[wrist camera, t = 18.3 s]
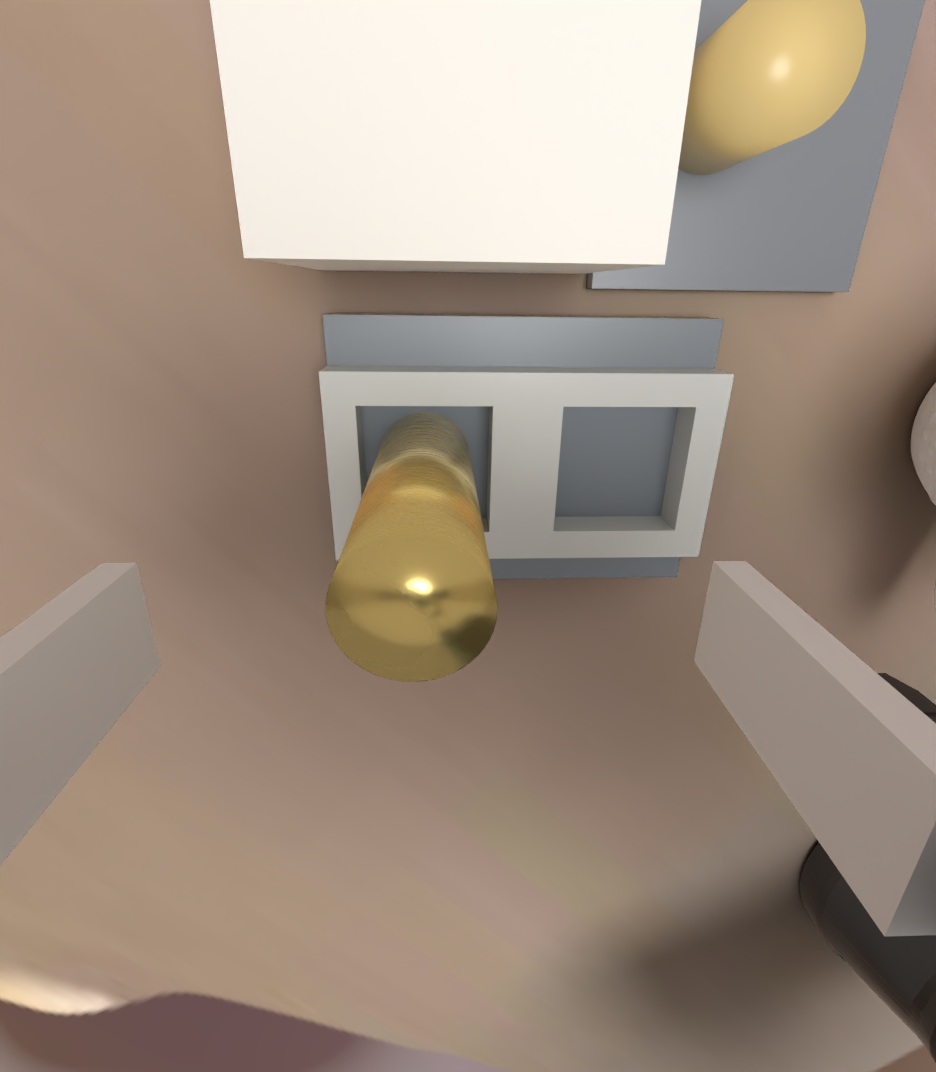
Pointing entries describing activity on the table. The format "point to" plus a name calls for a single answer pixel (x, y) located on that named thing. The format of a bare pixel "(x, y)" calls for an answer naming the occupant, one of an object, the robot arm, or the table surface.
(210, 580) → the table surface
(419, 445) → the peg
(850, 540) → the table surface
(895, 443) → the table surface
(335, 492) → the board
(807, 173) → the tile
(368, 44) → the block
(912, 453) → the mug
